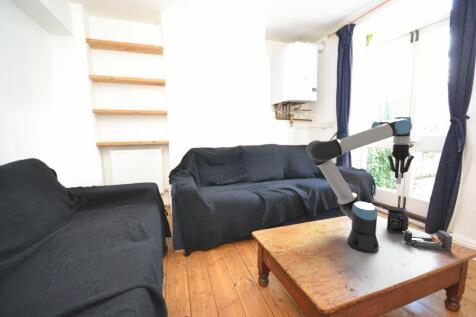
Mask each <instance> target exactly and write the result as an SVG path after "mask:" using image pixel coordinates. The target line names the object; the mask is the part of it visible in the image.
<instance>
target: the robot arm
mask: <svg viewBox="0 0 476 317" xmlns="http://www.w3.org/2000/svg"><path fill="white" fill-rule="evenodd" d="M412 129H413V124H412V117H410V116H396V117H395V118H394V119H388V120H375V121H373V123H372V124H371V127H370V128H369V129H366V130H363V131H361V132H357V133H355V134H352V135H348V136H346V137H343V138H339V139H336V138H334V139H331V140H324V141H323V140H322V141H321V140H318V139H317V140H316V139H315V140H312V141H310V142H309V143H308V144H307V145H306V148H305V154H306V156H307V158H308V159H309V158H310V160H311V162H312V164H314V167H316V168H317V167H318V168H319V170H320V171H321V173H322V174H323V176H324V178H325V180H326V181H327V183H328V185H329V186H330V187H331V189H332V191H333V192H334V194H335V195H336V197H337V203H338V205H339V208H340V211H341V212H342V213H343V214H344V215H346V216H347V218H349V219H350V221H351V230H350V232H349V234H348V236H347V239H346V240H347V245H348V246H349V247H350V248H351V249H354V250H356V251H359V252H361V253H362V252H363V253H369V254H370V253H371V254H373V253H377V252H378V251H379V250H380V249H379V248H380V245H379V241H378V238H377V234H376V233H377V221H378V209H377V207H376V206H375V205H374V204H372V203H368V202H367V201H361V200H360V198H359V196H358V195H357V193H355V192H352V190H351V189H350V187H349V185H348V183H347V182H346V180H345V179H344V177H343V176H342V174H341V172H340V171H339V169H338V167H337V166H336V164H335V163H334V161H333V160H334V159H336V158H339V157H342V156H343V155H344V153H348V152H350V151H353V150H357V149H359V148H363V147H366V146H368V145H371V144H374V143H377V142H380V141H383V140H386V139H389V138H391V137H393V142H392V143H393V145H392V152H391V154H389V155H387V156H386V158H387V159H388V162H389V166H390V170H391V172H393V173H394V179H395V181H396V182H395V183H396V184H397V185H402V179H404V174H405V173H408V172H409V169H410V166H411V163H412V160H413V159H414V158H415V156H414V155H411V152H410V141H411V140H410V139H411V130H412ZM393 158H394V159H393ZM394 162H395V163H394Z"/></svg>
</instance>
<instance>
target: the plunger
mask: <svg viewBox="0 0 476 317" xmlns="http://www.w3.org/2000/svg"><path fill="white" fill-rule="evenodd" d="M412 236H413V232H412V231H410V230H409V229H408V230H405V232H404V236H403V238H404V239H403V240H404V242H405V243H407V244H411V243H416V240H417V241H424V240H423V239H420V238H412Z"/></svg>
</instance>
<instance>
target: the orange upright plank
mask: <svg viewBox="0 0 476 317" xmlns="http://www.w3.org/2000/svg"><path fill="white" fill-rule="evenodd" d="M430 237H432V238H434V239H432V242H439V243H441V241H439V240H438V239H437V238H438V237H437V238H436V236H434V235H432V234H431V235H430Z"/></svg>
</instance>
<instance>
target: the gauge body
mask: <svg viewBox="0 0 476 317" xmlns="http://www.w3.org/2000/svg"><path fill="white" fill-rule="evenodd" d="M412 238H420V239H423V240H424V241H417V240H416V243H410V245H412V246H413V247H414V248H417V249H427V250H428V249H429V250H438V251H447V252H452V244H453V236H452V235H450V234H449V233H448V232H446V231H444V230H439V229H438V231H437V239H438V240H439V241H441V243H439V242H432V239H434V238H432V237H431V236H429V237H427V236H417V235H412Z"/></svg>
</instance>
